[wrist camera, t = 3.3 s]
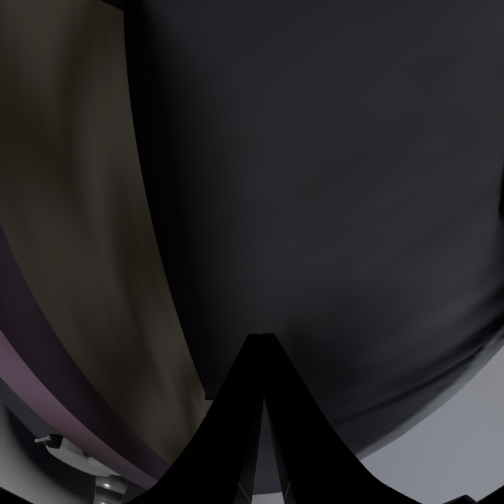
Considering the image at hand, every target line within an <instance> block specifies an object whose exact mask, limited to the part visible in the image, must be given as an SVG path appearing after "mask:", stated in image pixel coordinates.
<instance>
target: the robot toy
mask: <svg viewBox="0 0 504 504" xmlns="http://www.w3.org/2000/svg"><path fill="white" fill-rule="evenodd" d="M43 440H46V442H45V443H46V447H47V449H48V451H49V452H50V453H51V454H53V455H54V456H55V457H57V458H59V459H60V460H62V461H63V462H65V463H67V464H69V465H71V466H73V467H75V468H77V469H79V470H82V471H84V472H87V473H90V474H93V475H99V476H105V477H108V476H110V475H119V474H117V473H116V472H114V471H112V470H111V469H109V468H108V467H106V466H104V465H103V464H101V463H100V462H98V461H97V460H95V459H94V458H92V457H91V456H89V455H88V454H87V453H85V452H84V451H82V450H81V449H80V448H78V447H77V446H75V445H74V444H73V443H71V442H70V441H69V440H68V439H66V438H65V437H64V436H62V435H61V434H53V433H52V434H49V435H48V436H47V437H45V438H41V439H36V440H35V442H39V441H43ZM119 476H121V475H119Z"/></svg>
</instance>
